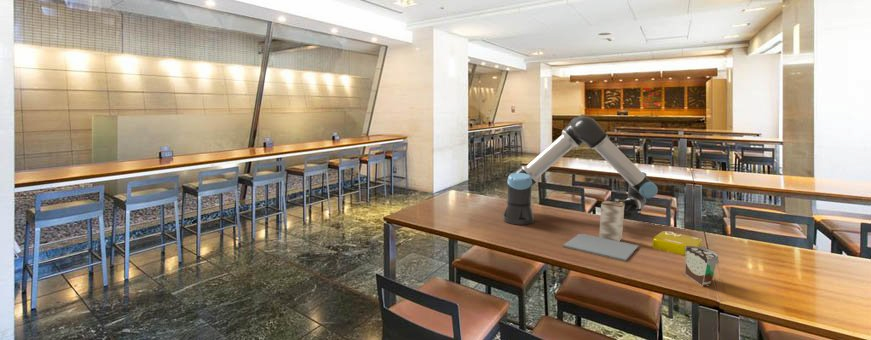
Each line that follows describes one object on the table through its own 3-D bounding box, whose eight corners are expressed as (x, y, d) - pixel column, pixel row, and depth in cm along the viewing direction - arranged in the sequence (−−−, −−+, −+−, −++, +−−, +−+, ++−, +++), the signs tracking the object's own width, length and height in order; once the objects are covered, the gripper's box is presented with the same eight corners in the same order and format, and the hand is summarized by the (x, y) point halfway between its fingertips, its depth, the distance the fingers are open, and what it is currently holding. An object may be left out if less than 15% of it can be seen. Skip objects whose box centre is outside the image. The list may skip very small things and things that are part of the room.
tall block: (599, 238, 171) (601, 202, 168) (602, 235, 174) (605, 200, 172) (618, 242, 165) (621, 205, 163) (621, 239, 169) (624, 203, 167)
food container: (725, 289, 123) (729, 259, 122) (705, 288, 124) (709, 259, 122) (700, 272, 136) (703, 245, 134) (682, 272, 136) (685, 245, 134)
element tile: (650, 248, 159) (651, 237, 158) (661, 239, 170) (662, 229, 169) (693, 258, 149) (694, 246, 148) (702, 248, 159) (704, 237, 158)
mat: (563, 246, 161) (563, 244, 160) (579, 235, 175) (580, 233, 175) (625, 261, 145) (625, 259, 145) (638, 247, 160) (638, 245, 159)
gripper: (644, 216, 187) (631, 227, 170) (616, 211, 196) (600, 222, 178) (646, 200, 186) (633, 211, 168) (617, 196, 194) (601, 206, 177)
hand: (616, 216), depth 173 cm, fingers closed
